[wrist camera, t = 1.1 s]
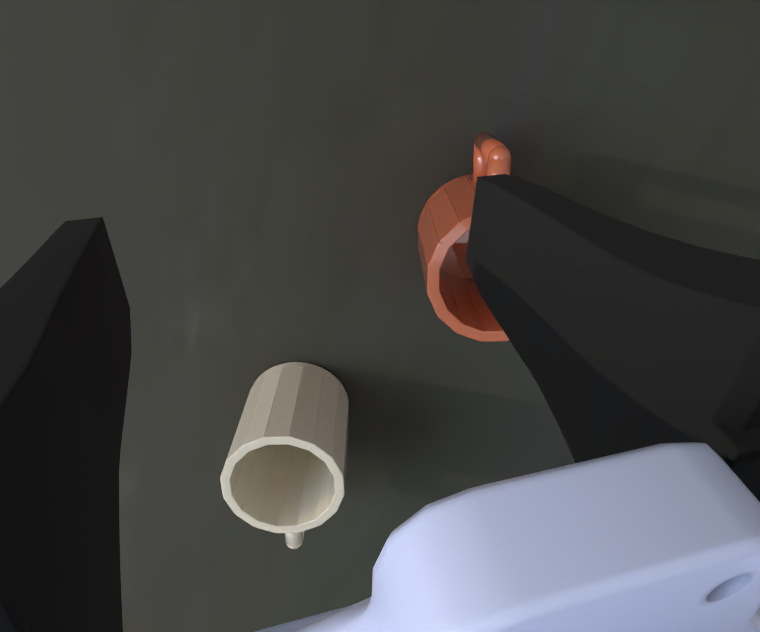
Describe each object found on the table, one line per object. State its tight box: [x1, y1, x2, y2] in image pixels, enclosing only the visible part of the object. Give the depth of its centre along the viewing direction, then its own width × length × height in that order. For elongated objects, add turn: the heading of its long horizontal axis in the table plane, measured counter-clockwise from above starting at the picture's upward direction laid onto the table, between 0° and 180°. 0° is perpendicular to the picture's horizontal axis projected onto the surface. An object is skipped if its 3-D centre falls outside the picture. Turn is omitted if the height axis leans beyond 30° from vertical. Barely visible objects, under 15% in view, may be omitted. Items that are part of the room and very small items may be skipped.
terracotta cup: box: [417, 132, 511, 342], centre depth 27 cm, size 8×6×6 cm
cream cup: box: [220, 362, 349, 549], centre depth 32 cm, size 8×6×7 cm
